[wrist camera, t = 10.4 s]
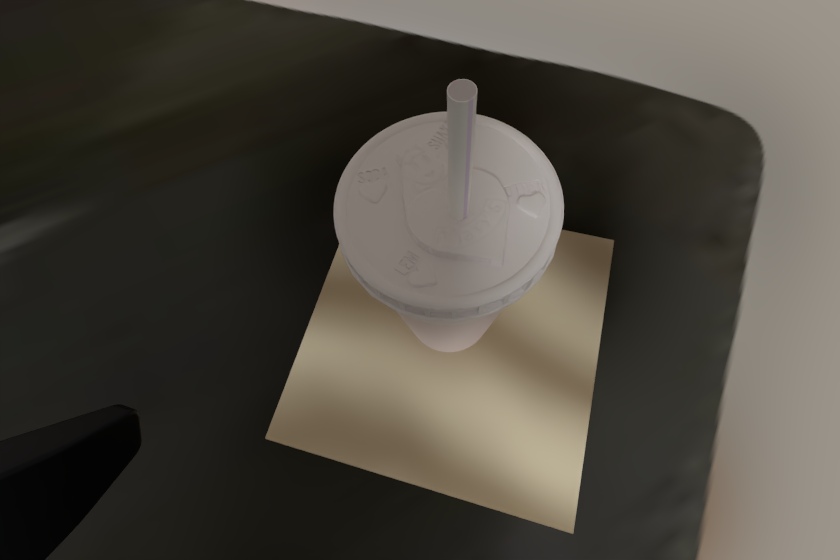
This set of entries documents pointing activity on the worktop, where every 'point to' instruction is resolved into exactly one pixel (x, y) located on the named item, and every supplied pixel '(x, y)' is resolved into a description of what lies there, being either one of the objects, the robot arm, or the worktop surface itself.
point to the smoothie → (449, 219)
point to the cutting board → (458, 390)
